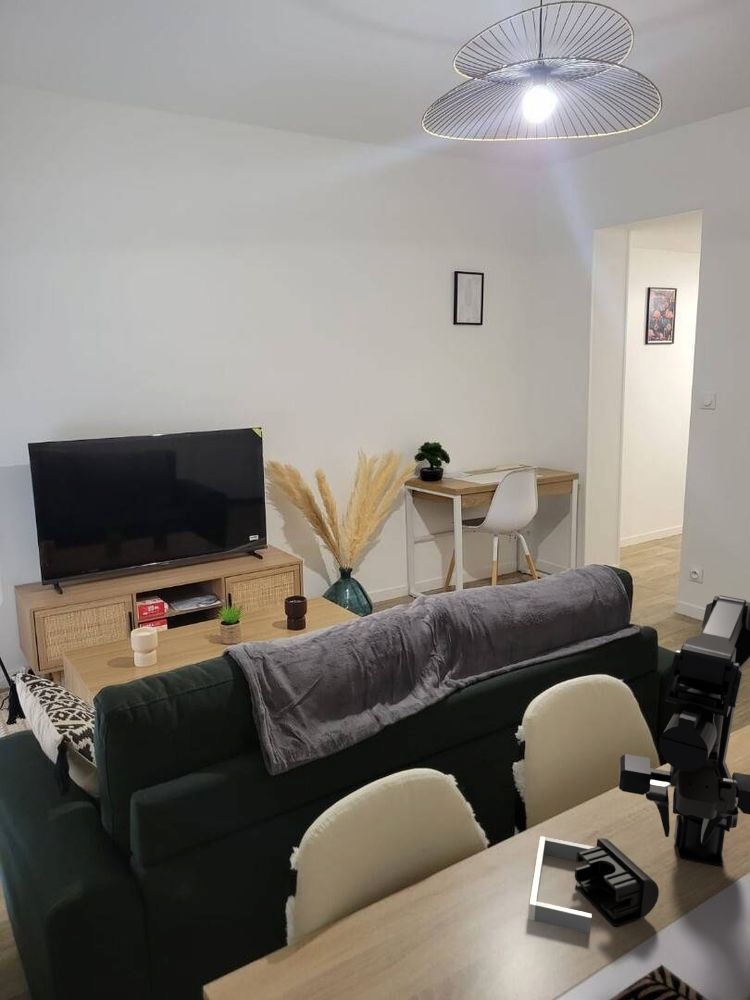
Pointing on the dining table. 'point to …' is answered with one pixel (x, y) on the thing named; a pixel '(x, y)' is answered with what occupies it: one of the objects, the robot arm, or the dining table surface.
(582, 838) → the dining table surface
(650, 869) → the dining table surface
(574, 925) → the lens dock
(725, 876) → the dining table surface
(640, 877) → the end cap
